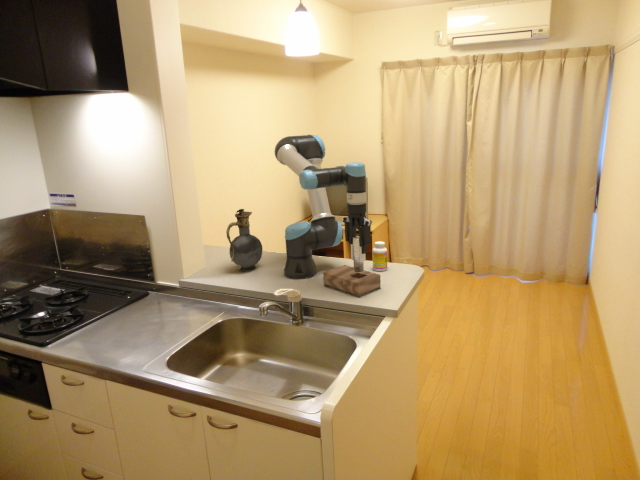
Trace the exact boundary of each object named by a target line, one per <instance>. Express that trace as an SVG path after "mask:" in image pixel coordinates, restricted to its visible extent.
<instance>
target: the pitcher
mask: <svg viewBox="0 0 640 480" xmlns="http://www.w3.org/2000/svg"><path fill="white" fill-rule="evenodd" d="M252 213H253V211H245V209H244V208H239V209H238V210H236V212H235V214H234V216H235V218H236V220H237V221H236V222H235V221H233V222H230V223H229V224H228V225H227V228H226V238H227V241H228V242H229V244H230V245H229V258H230V261H231V262H233V263H234V264H235V265H236V266H239V267H240V268H239V270H240V272H250V270H251V271H253V269H254V270H255V269H256V268H257V266H256V265H257V264H258V263H259V262H260V261H261V259H262V256H263V245H262V242H261V240H260V239H259V238H258V237H257V236H255V235H253V234H251V231H250V228H251V227H250V226H251V225H250V221H249V219H250V216H251V215H252ZM234 226H235V227H236V226H237V227H238V232H239V233H238V234H239V235H238V236H236V237H234V239H232V240H231V236H230V230H231V228H232V227H234Z"/></svg>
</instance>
